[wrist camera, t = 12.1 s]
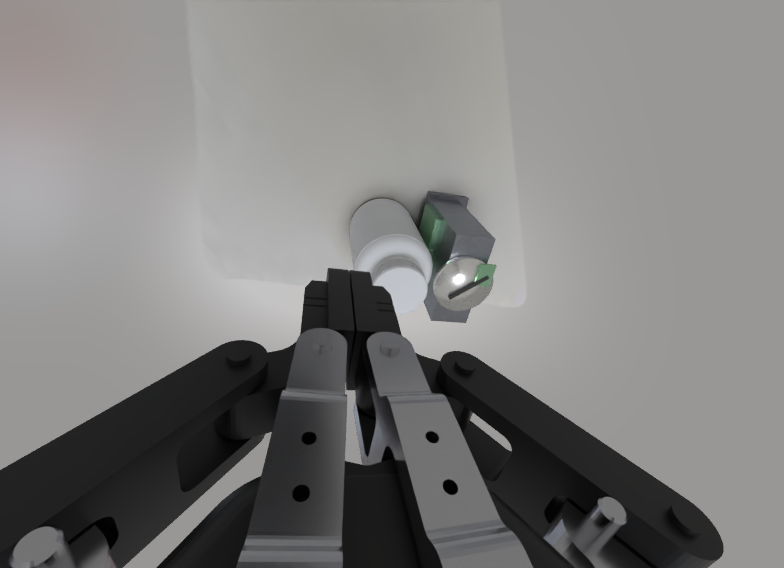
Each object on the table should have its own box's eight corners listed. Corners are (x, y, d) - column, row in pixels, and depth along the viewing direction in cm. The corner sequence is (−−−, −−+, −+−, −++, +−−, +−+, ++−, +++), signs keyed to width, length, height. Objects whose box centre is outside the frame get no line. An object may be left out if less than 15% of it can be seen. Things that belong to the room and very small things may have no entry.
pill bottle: (342, 249, 46) (347, 320, 34) (358, 189, 43) (370, 242, 30) (400, 262, 49) (426, 332, 36) (420, 205, 45) (457, 262, 32)
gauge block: (402, 269, 49) (423, 329, 38) (420, 190, 44) (451, 232, 33) (443, 273, 50) (476, 333, 39) (466, 196, 45) (511, 240, 34)
